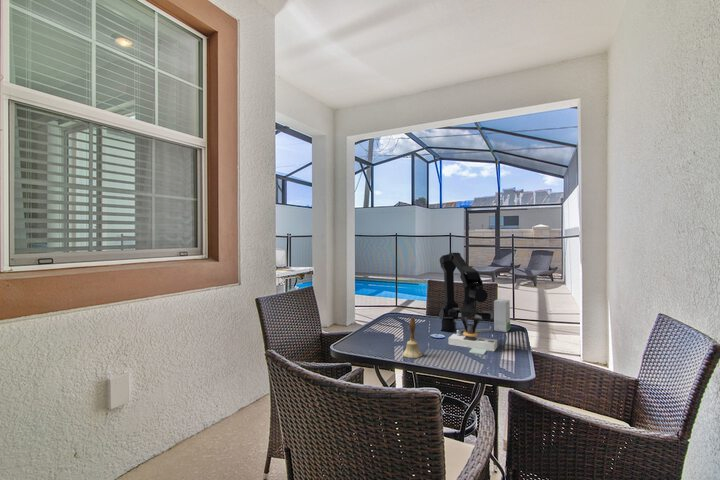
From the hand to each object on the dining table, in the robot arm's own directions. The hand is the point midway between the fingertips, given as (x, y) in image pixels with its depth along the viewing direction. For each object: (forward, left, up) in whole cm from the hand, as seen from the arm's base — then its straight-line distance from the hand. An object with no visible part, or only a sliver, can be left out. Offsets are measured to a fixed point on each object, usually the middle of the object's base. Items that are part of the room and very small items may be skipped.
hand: (470, 332), depth 160 cm
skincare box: (+8, +34, -6) cm, 35 cm away
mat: (+5, -7, -6) cm, 11 cm away
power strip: (0, 0, -6) cm, 6 cm away
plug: (0, 0, -5) cm, 5 cm away
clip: (0, +7, -1) cm, 7 cm away
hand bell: (-18, -25, -6) cm, 31 cm away
